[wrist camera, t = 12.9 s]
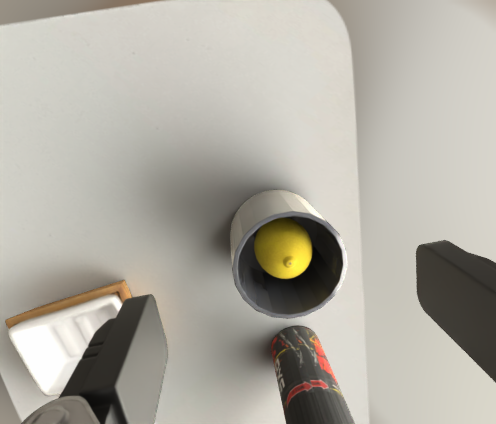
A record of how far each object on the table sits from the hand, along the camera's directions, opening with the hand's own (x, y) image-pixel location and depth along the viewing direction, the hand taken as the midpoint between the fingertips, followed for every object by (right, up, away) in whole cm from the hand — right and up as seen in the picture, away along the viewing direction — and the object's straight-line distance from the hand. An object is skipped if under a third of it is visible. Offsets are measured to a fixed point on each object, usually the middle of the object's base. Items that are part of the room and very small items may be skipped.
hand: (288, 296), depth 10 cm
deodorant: (+5, -14, +32) cm, 35 cm away
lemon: (+2, 0, +27) cm, 27 cm away
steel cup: (+2, 0, +28) cm, 28 cm away
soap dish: (-19, -10, +29) cm, 36 cm away
